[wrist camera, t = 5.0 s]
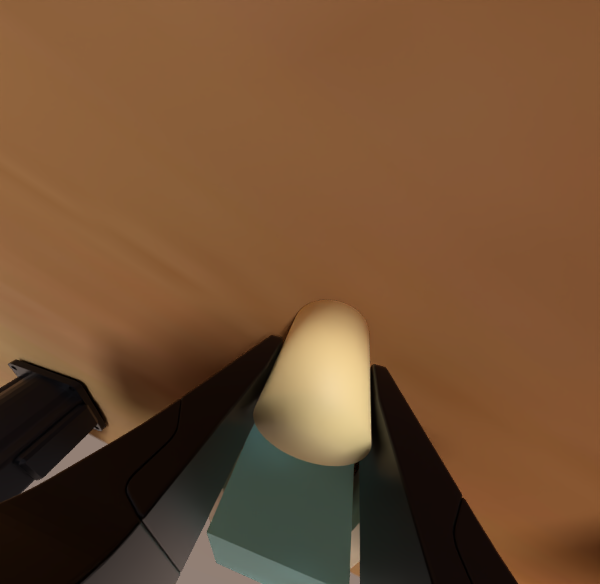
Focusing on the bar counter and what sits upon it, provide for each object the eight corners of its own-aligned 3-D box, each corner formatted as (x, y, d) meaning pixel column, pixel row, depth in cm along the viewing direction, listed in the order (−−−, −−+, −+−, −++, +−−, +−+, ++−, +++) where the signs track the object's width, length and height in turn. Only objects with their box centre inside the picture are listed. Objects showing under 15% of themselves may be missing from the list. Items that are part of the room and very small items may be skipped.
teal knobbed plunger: (253, 462, 17) (216, 563, 13) (260, 282, 9) (163, 395, 5) (333, 491, 16) (321, 610, 12) (423, 321, 8) (490, 508, 4)
